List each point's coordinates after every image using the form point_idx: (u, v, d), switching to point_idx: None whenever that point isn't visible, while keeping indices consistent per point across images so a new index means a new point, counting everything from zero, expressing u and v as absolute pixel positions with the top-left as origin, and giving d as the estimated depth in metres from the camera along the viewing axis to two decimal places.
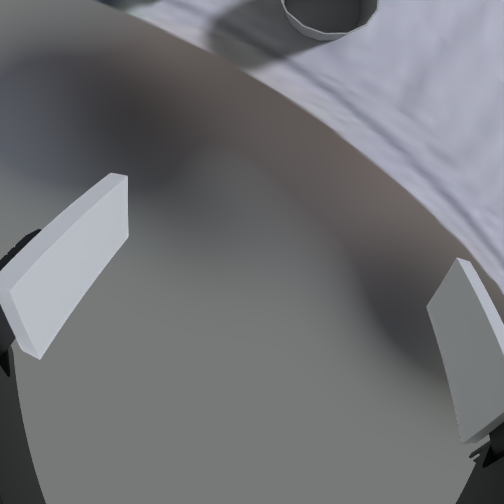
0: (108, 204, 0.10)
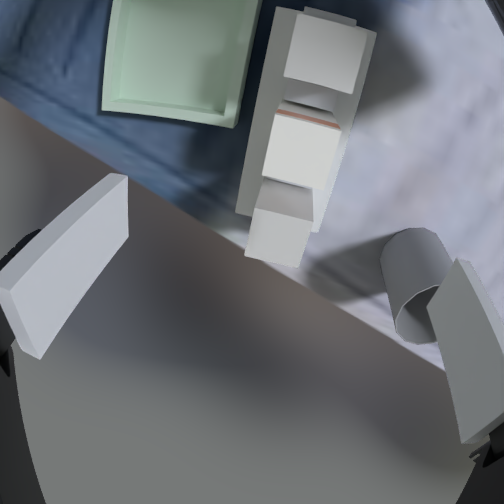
0: (108, 204, 0.10)
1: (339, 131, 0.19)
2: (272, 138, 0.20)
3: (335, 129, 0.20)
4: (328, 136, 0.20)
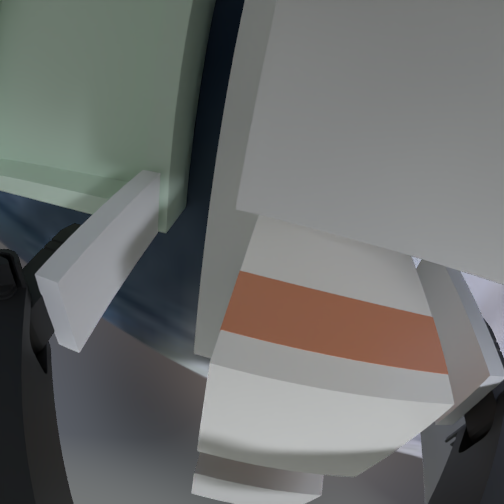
0: (144, 200, 0.11)
1: (447, 403, 0.05)
2: (212, 411, 0.06)
3: (437, 396, 0.05)
4: (405, 417, 0.05)
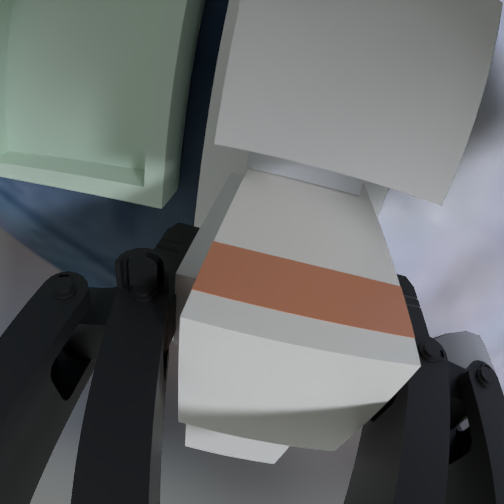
0: None
1: (414, 365, 0.05)
2: (187, 372, 0.06)
3: (402, 357, 0.05)
4: (373, 379, 0.05)
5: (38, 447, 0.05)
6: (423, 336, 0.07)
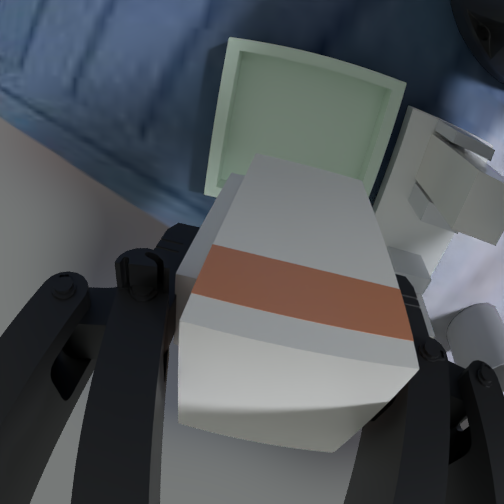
0: None
1: (412, 367, 0.05)
2: (186, 374, 0.06)
3: (400, 360, 0.05)
4: (371, 382, 0.06)
5: (38, 447, 0.05)
6: (423, 336, 0.07)
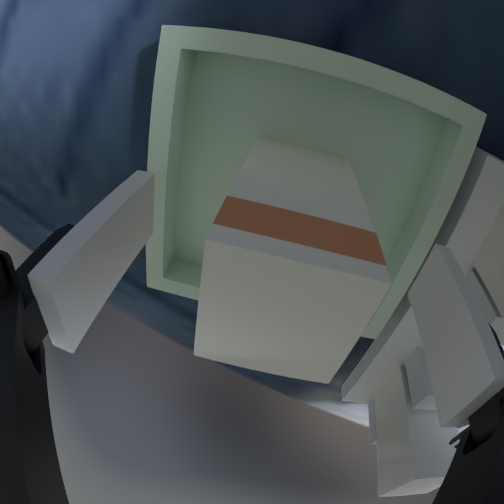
0: (138, 200, 0.11)
1: (385, 282, 0.07)
2: (206, 294, 0.08)
3: (375, 276, 0.07)
4: (353, 295, 0.07)
5: None
6: None
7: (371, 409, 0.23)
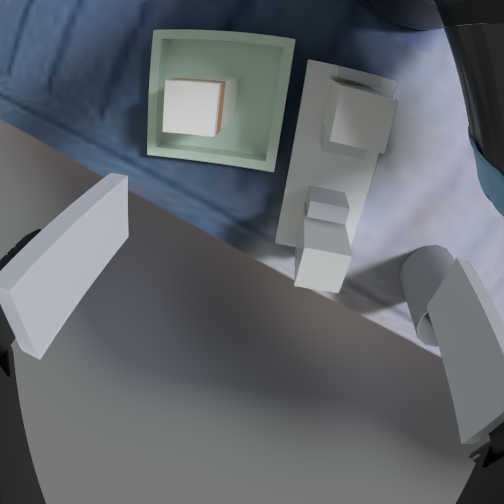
0: (108, 204, 0.10)
1: (217, 84, 0.22)
2: (166, 100, 0.23)
3: (214, 83, 0.22)
4: (209, 90, 0.22)
5: None
6: None
7: None
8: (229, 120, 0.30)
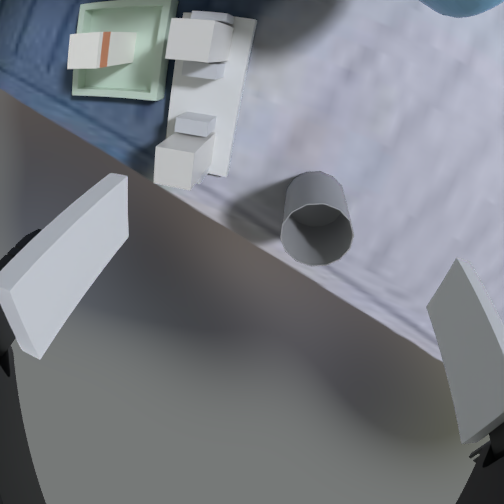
0: (108, 204, 0.10)
1: (99, 32, 0.26)
2: (70, 47, 0.27)
3: (98, 32, 0.26)
4: (94, 37, 0.26)
5: None
6: None
7: None
8: (123, 62, 0.33)
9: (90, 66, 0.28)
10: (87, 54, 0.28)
